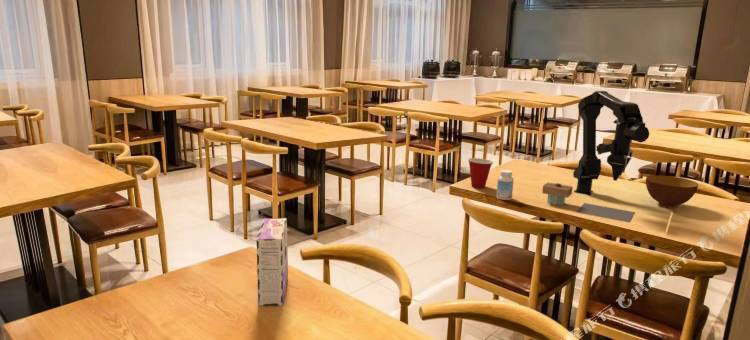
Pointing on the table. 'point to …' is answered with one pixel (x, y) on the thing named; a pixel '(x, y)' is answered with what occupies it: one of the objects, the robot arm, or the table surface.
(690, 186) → the bowl
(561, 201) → the ramekin
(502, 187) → the pill bottle
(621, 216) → the mat
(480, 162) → the plastic cup
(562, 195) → the lid
